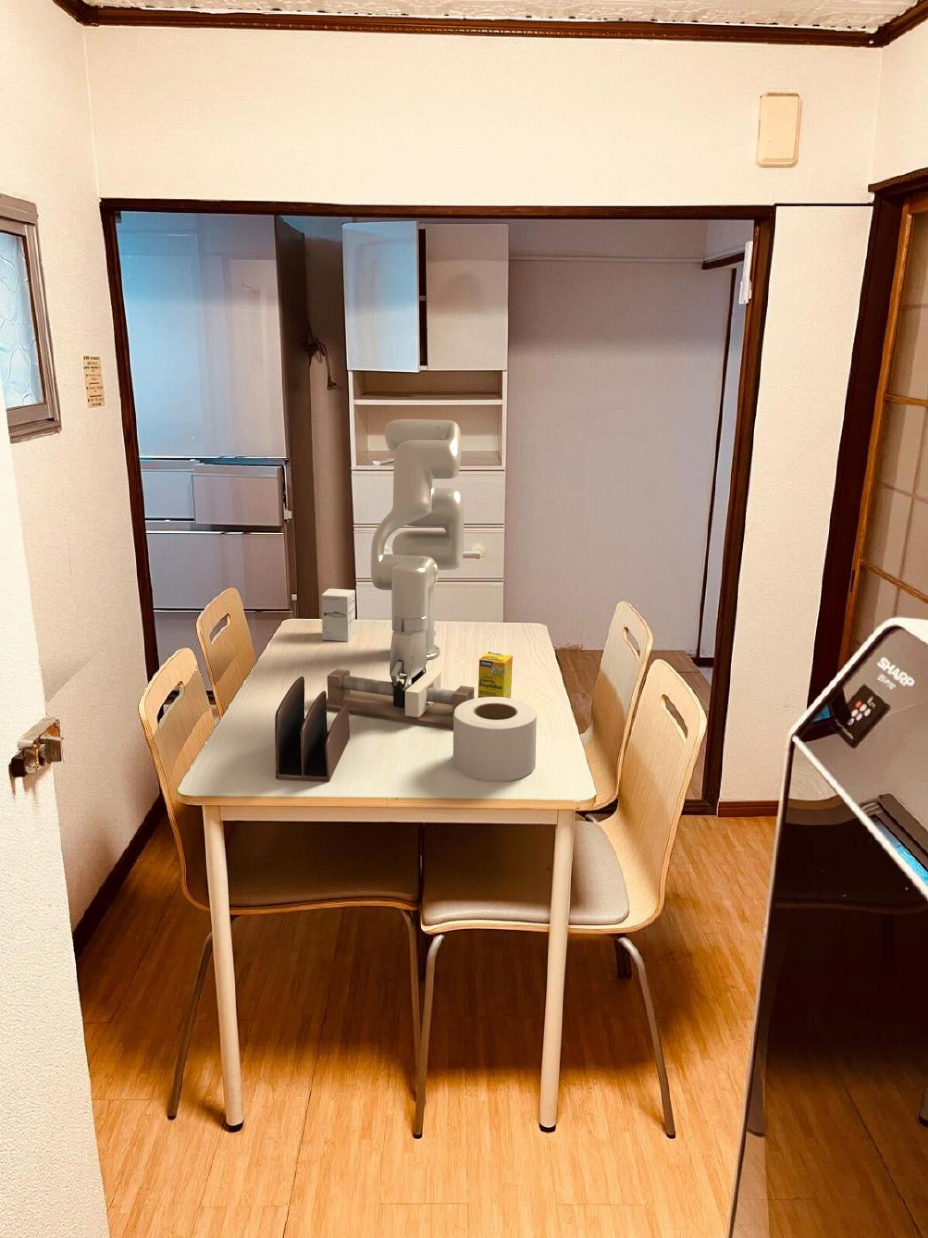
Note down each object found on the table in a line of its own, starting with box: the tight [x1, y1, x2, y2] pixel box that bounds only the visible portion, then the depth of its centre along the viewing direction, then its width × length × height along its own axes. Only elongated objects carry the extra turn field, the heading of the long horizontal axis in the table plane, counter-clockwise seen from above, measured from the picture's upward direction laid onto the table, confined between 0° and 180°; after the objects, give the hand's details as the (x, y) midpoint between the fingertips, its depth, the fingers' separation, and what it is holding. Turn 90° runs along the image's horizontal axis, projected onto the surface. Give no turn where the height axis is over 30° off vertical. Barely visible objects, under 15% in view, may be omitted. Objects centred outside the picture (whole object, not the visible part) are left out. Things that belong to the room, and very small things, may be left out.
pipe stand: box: [326, 668, 475, 731], centre depth 198 cm, size 12×32×6 cm, turn 71°
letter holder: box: [274, 676, 351, 783], centre depth 173 cm, size 10×20×14 cm, turn 176°
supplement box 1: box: [321, 588, 356, 643], centre depth 245 cm, size 7×7×13 cm
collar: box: [405, 670, 442, 717], centre depth 196 cm, size 13×3×5 cm, turn 161°
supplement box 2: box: [477, 651, 514, 699], centre depth 201 cm, size 6×6×11 cm
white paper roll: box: [452, 697, 538, 783], centre depth 172 cm, size 16×15×11 cm
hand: (409, 699), depth 197 cm, fingers open, 9 cm apart
